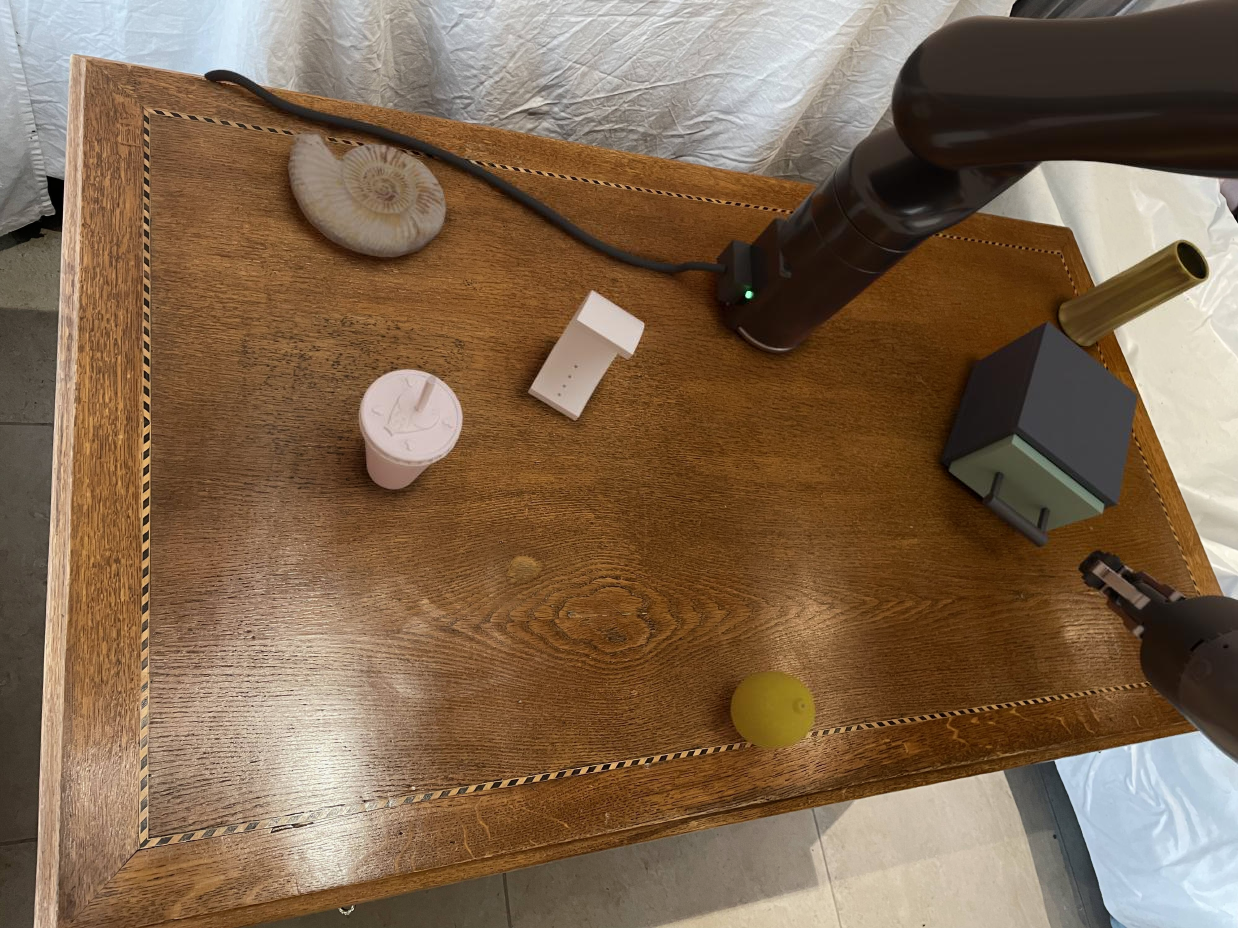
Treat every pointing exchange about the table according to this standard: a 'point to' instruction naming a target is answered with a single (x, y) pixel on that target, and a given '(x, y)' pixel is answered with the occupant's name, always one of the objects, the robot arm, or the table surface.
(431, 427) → the smoothie
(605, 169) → the table surface
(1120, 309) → the vase
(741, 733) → the lemon
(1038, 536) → the drawer
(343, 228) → the fossil
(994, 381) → the cabinet
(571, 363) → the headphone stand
